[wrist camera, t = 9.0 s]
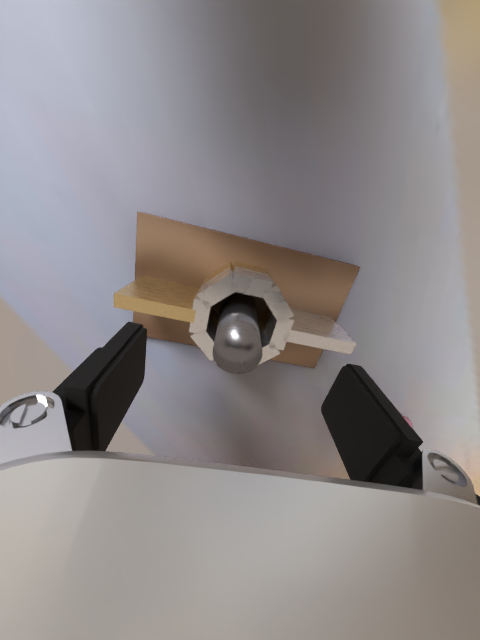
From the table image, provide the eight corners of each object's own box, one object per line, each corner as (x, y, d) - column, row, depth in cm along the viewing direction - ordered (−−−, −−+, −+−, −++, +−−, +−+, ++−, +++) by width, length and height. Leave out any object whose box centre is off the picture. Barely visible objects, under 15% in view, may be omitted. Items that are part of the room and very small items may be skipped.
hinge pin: (226, 283, 20) (217, 327, 12) (258, 291, 20) (268, 338, 13) (219, 313, 21) (208, 368, 14) (250, 320, 21) (254, 377, 14)
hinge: (144, 239, 18) (113, 246, 14) (344, 286, 20) (376, 305, 15) (140, 317, 21) (113, 345, 16) (315, 352, 23) (335, 385, 18)
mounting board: (142, 212, 18) (137, 212, 17) (354, 265, 20) (360, 267, 19) (136, 329, 23) (132, 333, 22) (311, 362, 25) (314, 368, 24)
